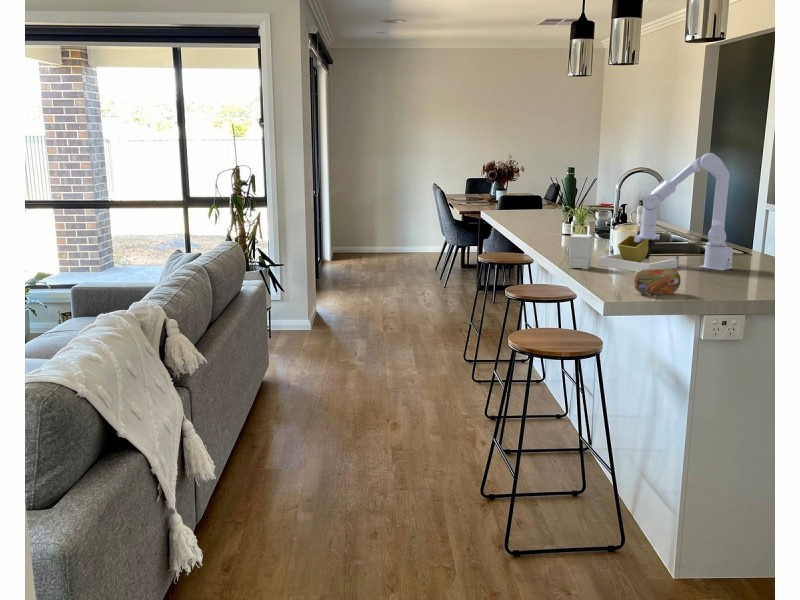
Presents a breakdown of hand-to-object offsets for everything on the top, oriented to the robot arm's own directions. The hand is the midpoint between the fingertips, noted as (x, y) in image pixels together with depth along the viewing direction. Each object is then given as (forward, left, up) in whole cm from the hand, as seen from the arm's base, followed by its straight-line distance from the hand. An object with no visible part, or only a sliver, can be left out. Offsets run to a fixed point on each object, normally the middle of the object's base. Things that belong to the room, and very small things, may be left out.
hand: (645, 258), depth 279 cm
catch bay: (-3, +8, -2) cm, 9 cm away
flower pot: (+2, +3, -1) cm, 4 cm away
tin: (-35, +48, -2) cm, 59 cm away
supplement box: (+10, +28, -2) cm, 30 cm away
